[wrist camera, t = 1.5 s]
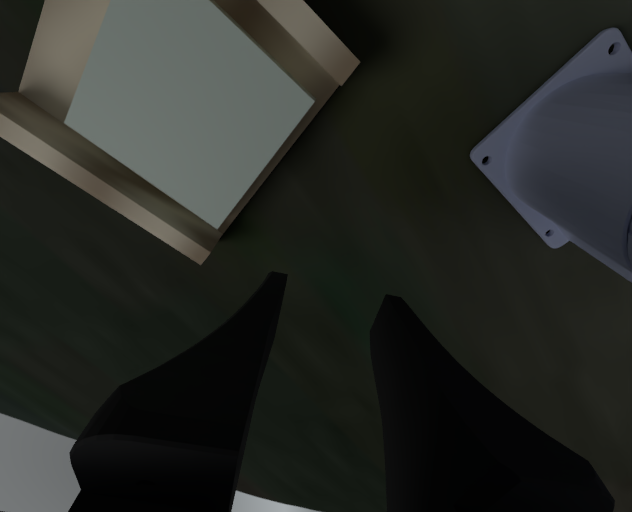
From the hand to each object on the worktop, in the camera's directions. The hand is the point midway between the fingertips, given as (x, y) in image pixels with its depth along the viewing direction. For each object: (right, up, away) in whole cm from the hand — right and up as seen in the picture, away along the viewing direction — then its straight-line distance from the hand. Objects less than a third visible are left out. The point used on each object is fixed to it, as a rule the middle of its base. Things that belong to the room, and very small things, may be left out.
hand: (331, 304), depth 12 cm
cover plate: (-7, +10, +5) cm, 13 cm away
